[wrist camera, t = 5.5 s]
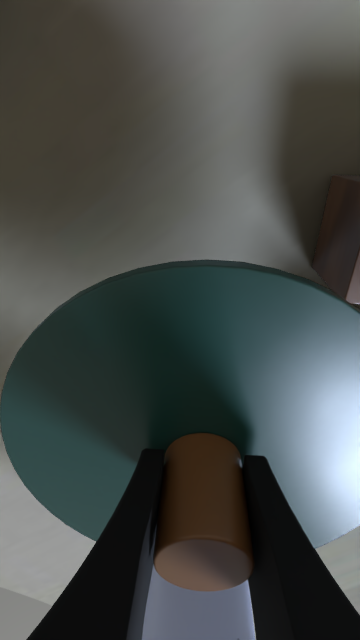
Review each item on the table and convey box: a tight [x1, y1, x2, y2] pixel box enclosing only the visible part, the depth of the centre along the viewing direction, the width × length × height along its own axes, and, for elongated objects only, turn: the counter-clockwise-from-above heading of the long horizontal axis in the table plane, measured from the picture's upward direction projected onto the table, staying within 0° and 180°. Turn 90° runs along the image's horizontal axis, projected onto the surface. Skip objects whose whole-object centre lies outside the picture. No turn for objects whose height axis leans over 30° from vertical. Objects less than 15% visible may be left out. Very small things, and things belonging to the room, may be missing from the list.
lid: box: [0, 260, 360, 592], centre depth 10 cm, size 14×14×4 cm
